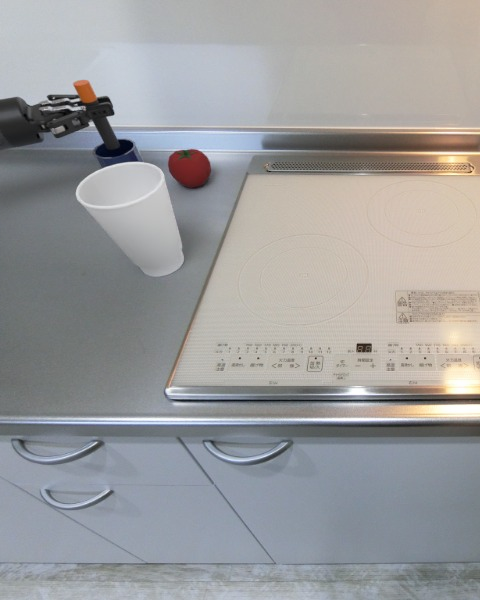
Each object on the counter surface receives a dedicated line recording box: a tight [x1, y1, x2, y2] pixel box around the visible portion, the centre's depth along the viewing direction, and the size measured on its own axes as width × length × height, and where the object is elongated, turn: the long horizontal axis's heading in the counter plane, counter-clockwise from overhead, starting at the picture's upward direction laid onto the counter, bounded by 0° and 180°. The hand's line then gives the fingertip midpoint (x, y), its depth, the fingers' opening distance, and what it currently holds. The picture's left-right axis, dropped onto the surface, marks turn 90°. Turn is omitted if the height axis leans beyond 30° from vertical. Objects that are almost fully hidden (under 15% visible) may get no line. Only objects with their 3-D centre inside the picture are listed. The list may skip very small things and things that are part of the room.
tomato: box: [167, 148, 212, 189], centre depth 89 cm, size 8×8×7 cm
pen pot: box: [92, 138, 146, 169], centre depth 88 cm, size 8×8×8 cm
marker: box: [72, 79, 120, 150], centre depth 80 cm, size 2×2×12 cm
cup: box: [75, 161, 185, 278], centre depth 69 cm, size 12×12×16 cm
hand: (111, 105), depth 80 cm, fingers closed on marker, 2 cm apart
